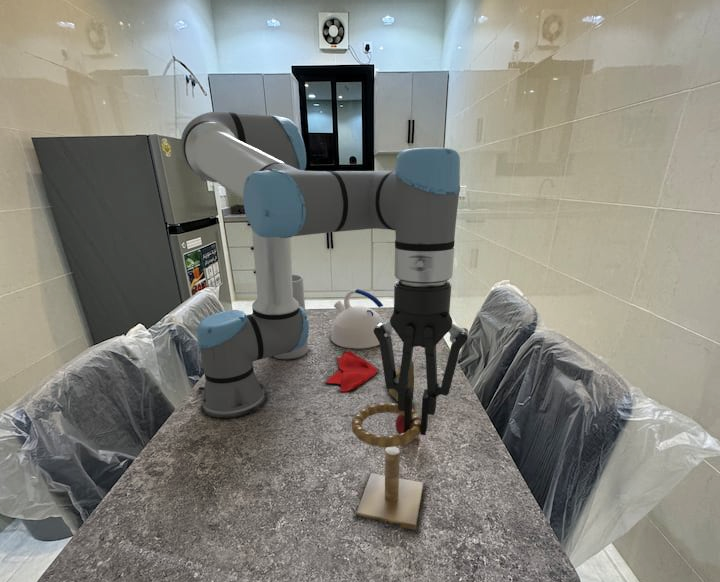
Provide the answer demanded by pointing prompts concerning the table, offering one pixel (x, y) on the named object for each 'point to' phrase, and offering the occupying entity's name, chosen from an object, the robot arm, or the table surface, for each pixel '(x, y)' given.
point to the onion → (401, 423)
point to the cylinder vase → (299, 296)
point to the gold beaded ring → (385, 440)
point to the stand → (392, 494)
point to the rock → (410, 384)
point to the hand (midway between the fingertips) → (415, 428)
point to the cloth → (352, 372)
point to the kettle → (356, 323)
